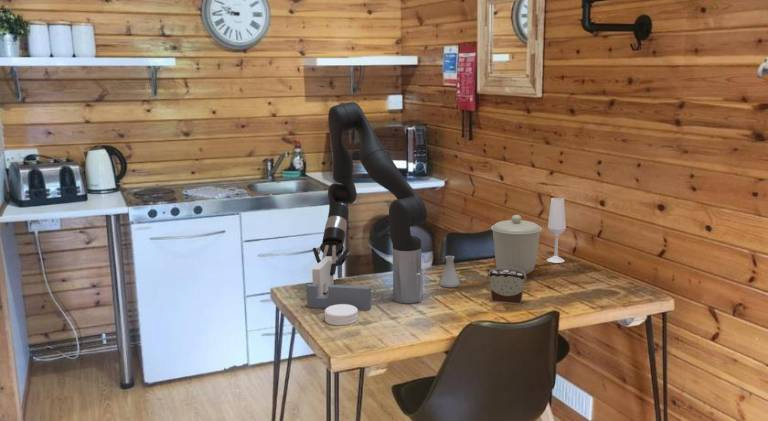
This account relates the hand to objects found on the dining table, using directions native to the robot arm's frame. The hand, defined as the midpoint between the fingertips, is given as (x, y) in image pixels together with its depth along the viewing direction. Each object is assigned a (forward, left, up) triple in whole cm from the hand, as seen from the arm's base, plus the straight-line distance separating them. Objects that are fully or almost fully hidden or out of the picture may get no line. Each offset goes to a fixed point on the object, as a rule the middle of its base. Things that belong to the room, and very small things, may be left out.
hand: (327, 274), depth 240 cm
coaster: (-12, +29, -5) cm, 32 cm away
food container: (-61, +3, -5) cm, 61 cm away
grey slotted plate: (-9, +18, -5) cm, 21 cm away
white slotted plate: (0, +4, -4) cm, 6 cm away
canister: (-63, -29, -5) cm, 69 cm away
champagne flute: (-78, -46, -5) cm, 90 cm away
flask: (-41, -10, -5) cm, 42 cm away
